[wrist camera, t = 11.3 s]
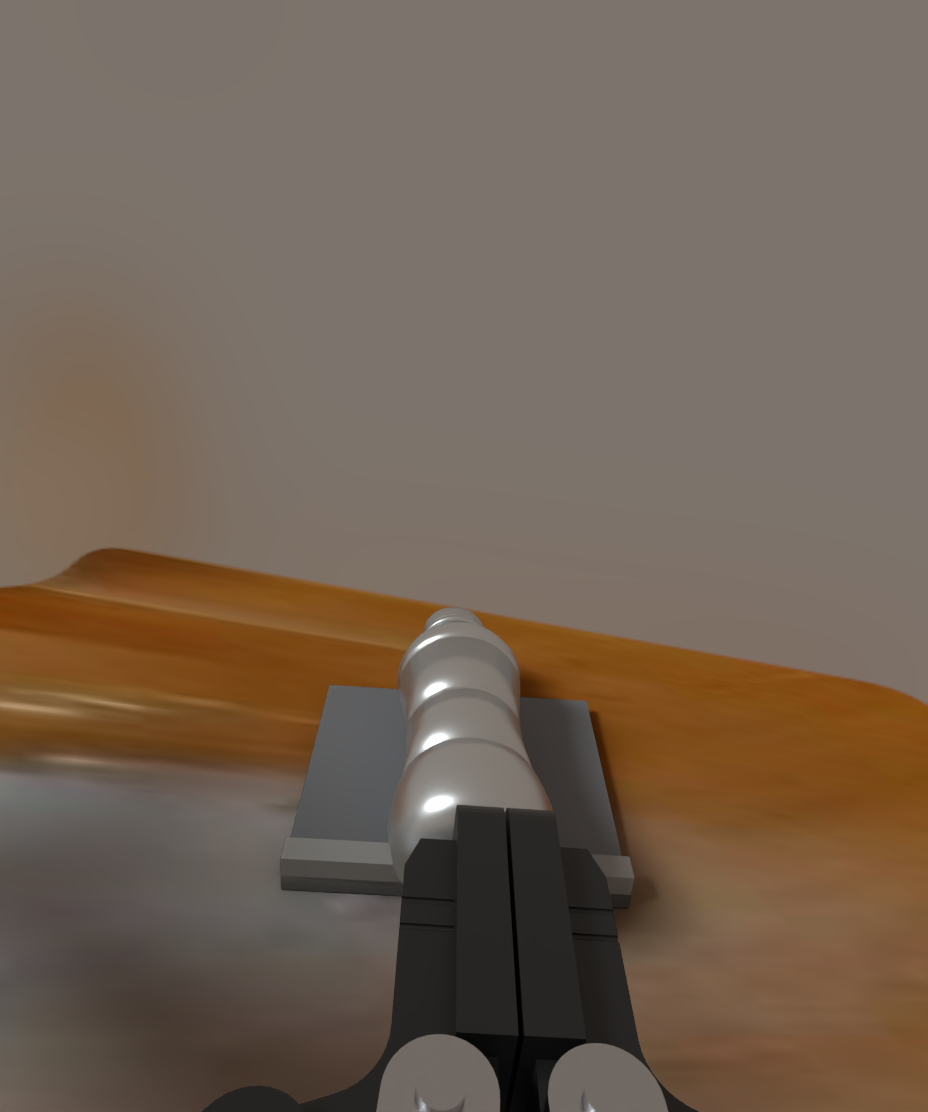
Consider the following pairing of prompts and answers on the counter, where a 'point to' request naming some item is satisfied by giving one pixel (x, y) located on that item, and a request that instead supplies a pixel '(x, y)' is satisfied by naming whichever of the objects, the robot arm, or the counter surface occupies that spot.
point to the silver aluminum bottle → (458, 732)
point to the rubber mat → (375, 771)
